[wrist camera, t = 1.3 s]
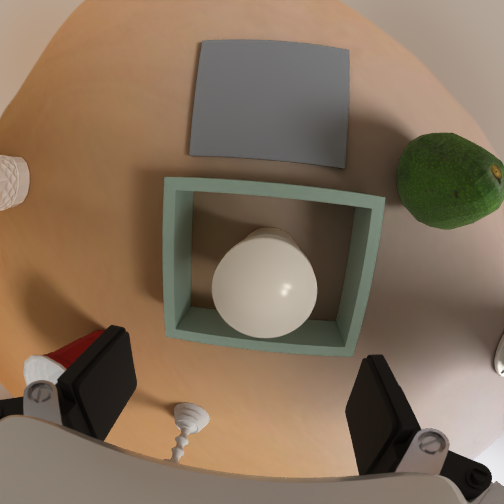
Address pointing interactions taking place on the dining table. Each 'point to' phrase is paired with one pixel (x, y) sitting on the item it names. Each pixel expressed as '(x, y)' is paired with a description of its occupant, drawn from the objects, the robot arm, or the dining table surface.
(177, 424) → the chalice
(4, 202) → the white cup
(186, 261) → the green open box
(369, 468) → the robot arm
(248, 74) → the mat
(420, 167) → the avocado
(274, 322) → the white mushroom shaped cylinder
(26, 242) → the dining table surface
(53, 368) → the plastic cup
